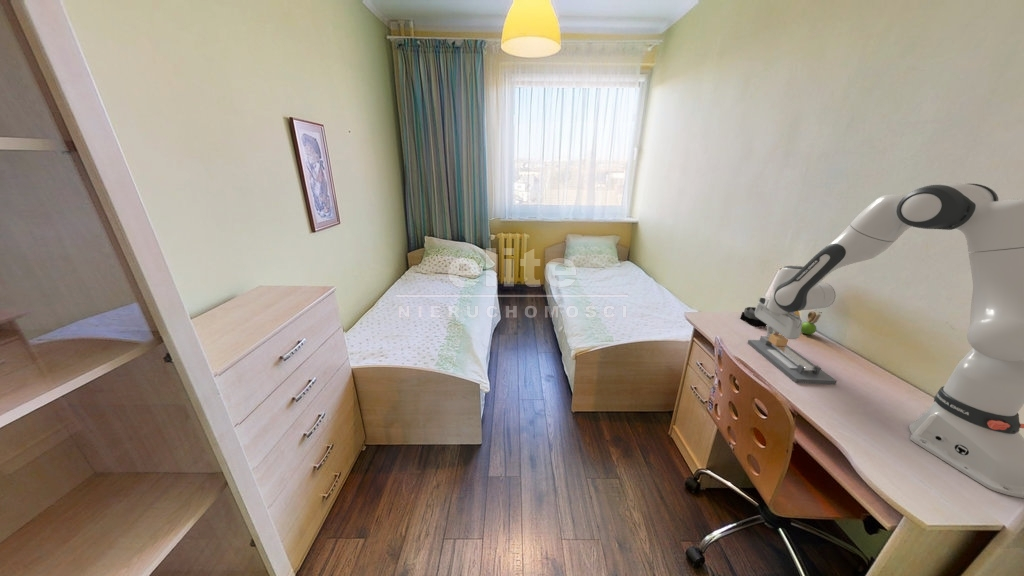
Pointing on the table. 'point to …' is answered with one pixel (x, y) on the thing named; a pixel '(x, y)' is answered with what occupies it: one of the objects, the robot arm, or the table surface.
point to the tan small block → (778, 340)
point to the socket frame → (790, 364)
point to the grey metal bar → (794, 358)
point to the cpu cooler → (751, 317)
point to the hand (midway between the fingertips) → (770, 337)
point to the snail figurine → (810, 323)
